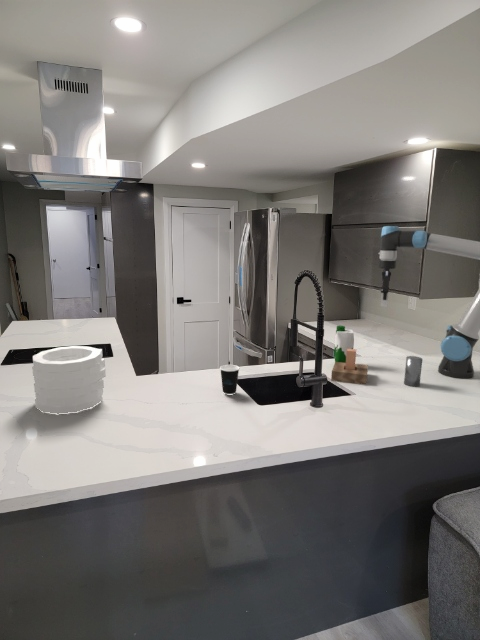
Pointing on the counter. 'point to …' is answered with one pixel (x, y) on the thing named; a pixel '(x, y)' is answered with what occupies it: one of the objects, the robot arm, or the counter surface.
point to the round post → (413, 371)
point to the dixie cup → (229, 378)
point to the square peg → (350, 359)
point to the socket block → (349, 373)
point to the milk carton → (343, 343)
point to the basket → (68, 378)
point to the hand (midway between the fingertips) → (383, 304)
